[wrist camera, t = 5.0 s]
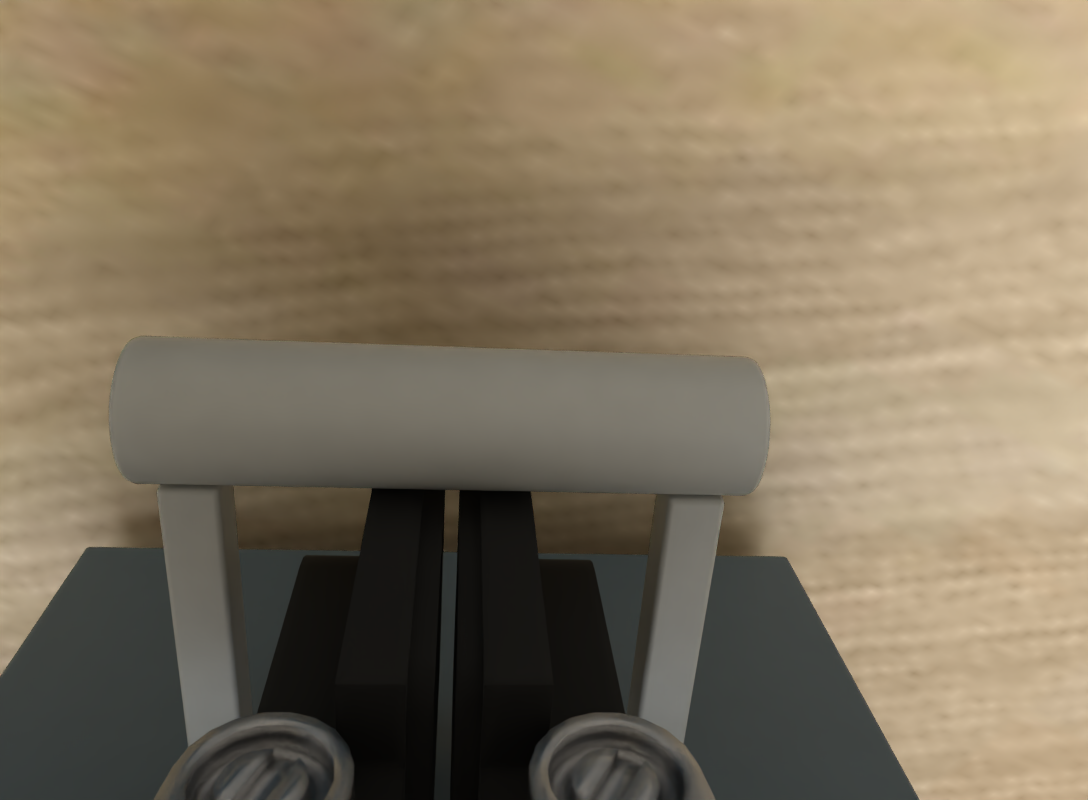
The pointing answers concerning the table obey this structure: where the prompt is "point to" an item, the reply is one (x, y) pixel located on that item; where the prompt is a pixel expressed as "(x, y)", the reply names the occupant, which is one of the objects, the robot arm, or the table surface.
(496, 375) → the drawer
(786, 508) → the table surface
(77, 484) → the table surface
